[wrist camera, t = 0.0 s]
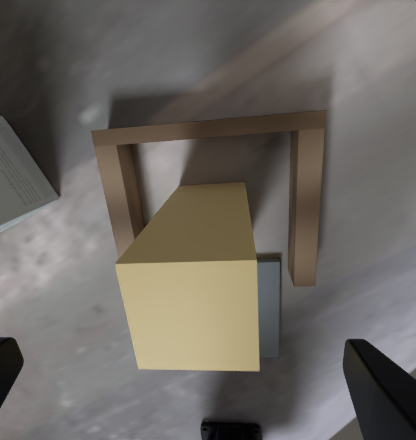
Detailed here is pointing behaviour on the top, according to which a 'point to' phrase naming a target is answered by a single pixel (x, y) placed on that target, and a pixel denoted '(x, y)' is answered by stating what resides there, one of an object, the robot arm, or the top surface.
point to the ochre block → (194, 283)
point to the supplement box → (20, 181)
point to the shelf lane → (295, 122)
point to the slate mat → (268, 306)
